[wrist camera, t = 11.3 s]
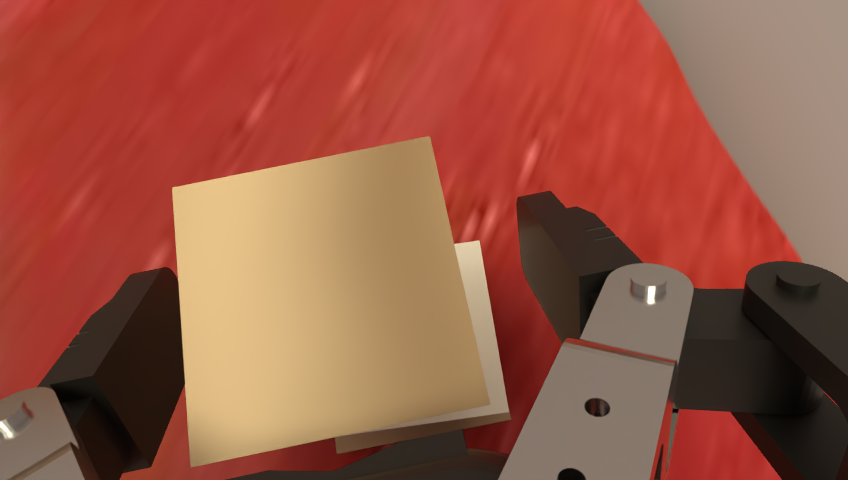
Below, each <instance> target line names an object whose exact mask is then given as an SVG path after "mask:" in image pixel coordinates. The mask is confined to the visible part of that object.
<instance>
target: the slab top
mask: <svg viewBox="0 0 848 480" xmlns="http://www.w3.org/2000/svg"><path fill="white" fill-rule="evenodd" d="M454 246H455V250H456V255H457V259H458V263H459V268H460V272H461V277H462V281H463V286H464V290H465V295H466V299H467V303H468V308H469V312H470V317H471V321H472V326H473V330H474V334H475V339H476V343H477V348H478V352H479V357H480V361H481V365H482V370H483V374H484V379H485V383H486V388H487V392H488V397H489V401H490V405H486V406H481V407H477V408H472V409H467V410H462V411H458V412H453V413H448V414H443V415H439V416H434V417H429V418H424V419H419V420H415V421H410V422H405V423H400V424H396V425H391V426H386V427H381V428H376V429H372V430H367V431H362V432H357V433H353V434H358V433H365V432H372V431H379V430H386V429H393V428H400V427H407V426H414V425H421V424H428V423H436V422H443V421H450V420H457V419H464V418H471V417H478V416H485V415H492V414H499V413H506V412H509V409H508V403H507V397H506V392H505V386H504V380H503V374H502V368H501V363H500V357H499V351H498V345H497V340H496V334H495V328H494V322H493V317H492V311H491V305H490V299H489V293H488V288H487V282H486V276H485V270H484V265H483V259H482V253H481V247H480V242H479V241H473V242H466V243H459V244H454ZM348 435H351V434H348ZM343 436H344V435H343Z"/></svg>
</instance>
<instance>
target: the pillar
mask: <svg viewBox="0 0 848 480" xmlns="http://www.w3.org/2000/svg"><path fill="white" fill-rule="evenodd" d="M172 192H173V207H174V222H175V237H176V252H177V268H178V283H179V298H180V313H181V328H182V344H183V359H184V374H185V389H186V404H187V420H188V435H189V450H190V465H191V467H195V466H200V465H205V464H209V463H214V462H219V461H224V460H229V459H233V458H238V457H243V456H248V455H252V454H257V453H262V452H267V451H271V450H276V449H281V448H286V447H291V446H295V445H300V444H305V443H310V442H314V441H319V440H324V439H329V438H334V437H338V436H343V435H348V434H353V433H357V432H362V431H367V430H372V429H376V428H381V427H386V426H391V425H396V424H400V423H405V422H410V421H415V420H419V419H424V418H429V417H434V416H439V415H443V414H448V413H453V412H458V411H462V410H467V409H472V408H477V407H481V406H486V405H490V401H489V397H488V392H487V388H486V383H485V379H484V374H483V370H482V365H481V361H480V357H479V352H478V348H477V343H476V339H475V334H474V330H473V326H472V321H471V317H470V312H469V308H468V303H467V299H466V295H465V290H464V286H463V281H462V277H461V272H460V268H459V263H458V259H457V255H456V250H455V246H454V241H453V237H452V232H451V228H450V224H449V219H448V215H447V210H446V206H445V201H444V197H443V193H442V188H441V184H440V179H439V175H438V170H437V166H436V161H435V157H434V153H433V148H432V144H431V139H430V136H427V137H422V138H417V139H412V140H407V141H402V142H397V143H392V144H388V145H383V146H378V147H373V148H368V149H363V150H358V151H353V152H348V153H343V154H338V155H333V156H328V157H323V158H318V159H313V160H308V161H303V162H298V163H293V164H288V165H283V166H278V167H273V168H268V169H263V170H258V171H253V172H248V173H243V174H238V175H233V176H228V177H223V178H218V179H213V180H208V181H203V182H199V183H194V184H189V185H184V186H179V187H174V188H172Z"/></svg>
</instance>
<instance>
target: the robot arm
mask: <svg viewBox="0 0 848 480" xmlns="http://www.w3.org/2000/svg"><path fill="white" fill-rule="evenodd" d="M517 219H518V231H519V243H520V255H521V262H522V267H523V271H524V274H525V277H526V280H527V282H528V284H529V285H530V287H531V289H532V291H533V293H534V294H535V296H536V298H537V300H538V301H539V303H540V305H541V307H542V309H543V310H544V312H545V314H546V316H547V318H548V319H549V321H550V323H551V325H552V326H553V328H554V330H555V332H556V334H557V335H558V337H559V339H560V341H561V342H562V346H561V348H560V350H559V353H558V355H557V357H556V359H555V361H554V363H553V365H552V367H551V369H550V372H549V374H548V376H547V378H546V380H545V382H544V384H543V386H542V388H541V390H540V393H539V395H538V397H537V399H536V401H535V403H534V405H533V407H532V409H531V412H530V414H529V416H528V418H527V420H526V422H525V424H524V426H523V428H522V430H521V433H520V435H519V437H518V439H517V441H516V443H515V445H514V447H513V449H512V451H511V454H510V455H508V454H504V453H500V452H496V451H489V450H482V449H467V447H466V443H465V439H464V435H463V431H462V429H459V430H454V431H450V432H445V433H440V434H436V435H431V436H426V437H422V438H417V439H413V440H408V441H403V442H399V443H397V444H395V445H392V446H390V447H388V448H386V449H383V450H381V451H379V452H377V453H374V454H372V455H370V456H368V457H365V458H363V459H361V460H359V461H356V462H354V463H352V464H350V465H347V466H345V467H343V468H341V469H338V470H335V471H272V470H268V471H264V472H259V473H254V474H250V475H245V476H240V477H236V478H231V479H226V480H667V478H668V472H669V467H670V462H671V456H672V451H673V446H674V440H675V435H676V430H677V424H678V419H679V414H680V409H693V410H711V411H728V412H731V413H732V415H733V416H734V417H735V419H736V420H737V421H738V422H739V424H740V425H741V426H742V428H743V429H744V430H745V432H746V433H747V434H748V436H749V437H750V438H751V439H752V441H753V442H754V443H755V445H756V446H757V447H758V449H759V450H760V451H761V453H762V454H763V455H764V456H765V458H766V459H767V460H768V462H769V463H770V464H771V466H772V467H773V468H774V470H775V471H776V472H777V473H778V475H779V476H780V477H781V479H782V480H848V282H846V281H845V280H843V279H842V278H841V277H839V276H837V275H836V274H834V273H832V272H830V271H828V270H825V269H823V268H820V267H817V266H813V265H809V264H804V263H799V262H788V261H776V262H768V263H763V264H760V265H757V266H755V267H754V268H752V269H751V270H750V271H749V272H748V273H747V275H746V281H745V287H744V289H698V288H693V285H692V283H691V281H690V280H689V279H688V278H687V277H686V276H685V275H684V274H682V273H681V272H679V271H677V270H675V269H672V268H670V267H666V266H663V265H657V264H649V263H643V262H642V261H641V260H640V259H639V258H638V257H637V256H636V255H635V254H634V253H633V252H632V251H631V250H630V249H629V248H628V247H627V246H626V245H625V244H624V243H623V242H622V241H621V240H620V239H619V238H618V237H615V234H614V233H613V232H612V231H611V230H610V229H609V228H606V225H605V224H604V223H603V222H602V221H601V220H600V219H599V218H598V217H597V216H596V215H595V214H593V213H591V212H589V211H586V210H584V209H582V208H579V207H577V206H576V207H571V208H567V209H566V207H565V206H564V205H563V204H562V203H561V202H560V201H559V200H558V199H557V197H556V196H555V195H554V194H553V193H552V192H551V191H546V192H541V193H536V194H531V195H526V196H521V197H518V198H517ZM79 333H80V334H79V335H76V336H75V338H74V339H73V340H72V342H71V343H70V344H69V348H67V349H66V350H65V351H64V352H63V354H62V355H61V356H60V358H59V359H58V360H57V362H56V363H55V364H54V365H53V367H52V368H51V369H50V371H49V372H48V373H47V375H46V376H45V377H44V379H43V380H42V381H41V383H40V384H39V385H38V387H36V388H31V389H26V390H23V391H20V392H18V393H15V394H13V395H10V396H8V397H6V398H4V399H2V400H0V480H120V477H121V475H122V473H126V472H130V471H135V470H140V469H144V468H149V467H151V466H152V463H153V461H154V458H155V456H156V454H157V451H158V449H159V446H160V444H161V441H162V439H163V436H164V434H165V431H166V429H167V426H168V424H169V422H170V419H171V417H172V414H173V412H174V409H175V407H176V404H177V402H178V399H179V397H180V395H181V392H182V390H183V387H184V385H185V374H184V359H183V344H182V328H181V313H180V298H179V283H178V279H177V277H176V275H175V274H174V272H173V271H172V270H171V269H170V268H167V267H164V268H159V269H154V270H149V271H144V272H139V273H134V274H131V275H130V276H129V277H128V278H127V280H126V281H125V282H124V284H123V285H122V286H121V288H120V289H119V290H118V292H117V293H116V295H115V296H114V297H113V299H112V300H110V301H109V302H108V303H107V304H105V305H104V306H103V307H102V308H100V309H99V310H98V311H97V312H95V313H94V314H93V315H91V317H90V318H89V319H88V321H87V322H86V323H85V325H84V326H83V327H82V329H81V330H80V331H79ZM824 392H825V393H826V394H827V395H829V396H830V397H831V398H832V399H833V400H834V401H835V403H836V404H837V405H838V406H839V407H840V408H839V407H838V406H837V405H836V404H835V403H834V402H833V401H832V400H831V399H830V398H829V397H828V396H827V395H826V394H825V393H824Z"/></svg>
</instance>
